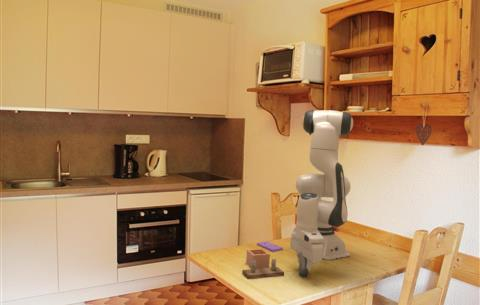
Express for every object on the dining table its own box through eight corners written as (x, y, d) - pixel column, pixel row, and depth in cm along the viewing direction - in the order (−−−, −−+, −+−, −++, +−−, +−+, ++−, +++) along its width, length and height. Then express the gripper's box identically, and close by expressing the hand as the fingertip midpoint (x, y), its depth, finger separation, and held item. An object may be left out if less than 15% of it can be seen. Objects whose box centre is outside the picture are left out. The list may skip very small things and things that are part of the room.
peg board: (277, 270, 170) (278, 256, 170) (283, 275, 164) (284, 261, 164) (242, 273, 164) (243, 259, 164) (247, 279, 159) (248, 264, 158)
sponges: (267, 244, 209) (267, 240, 209) (283, 251, 199) (283, 247, 199) (256, 246, 205) (256, 242, 205) (272, 253, 195) (272, 249, 194)
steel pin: (305, 273, 168) (306, 250, 167) (310, 277, 164) (311, 253, 164) (296, 274, 167) (298, 250, 166) (301, 278, 163) (303, 253, 162)
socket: (261, 261, 180) (262, 248, 179) (269, 267, 173) (269, 254, 172) (246, 263, 177) (246, 249, 177) (252, 269, 170) (253, 255, 170)
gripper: (287, 226, 173) (285, 258, 174) (312, 240, 154) (310, 275, 155) (300, 226, 175) (298, 257, 176) (326, 239, 156) (324, 274, 157)
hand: (304, 266), depth 165 cm, fingers open, 5 cm apart
